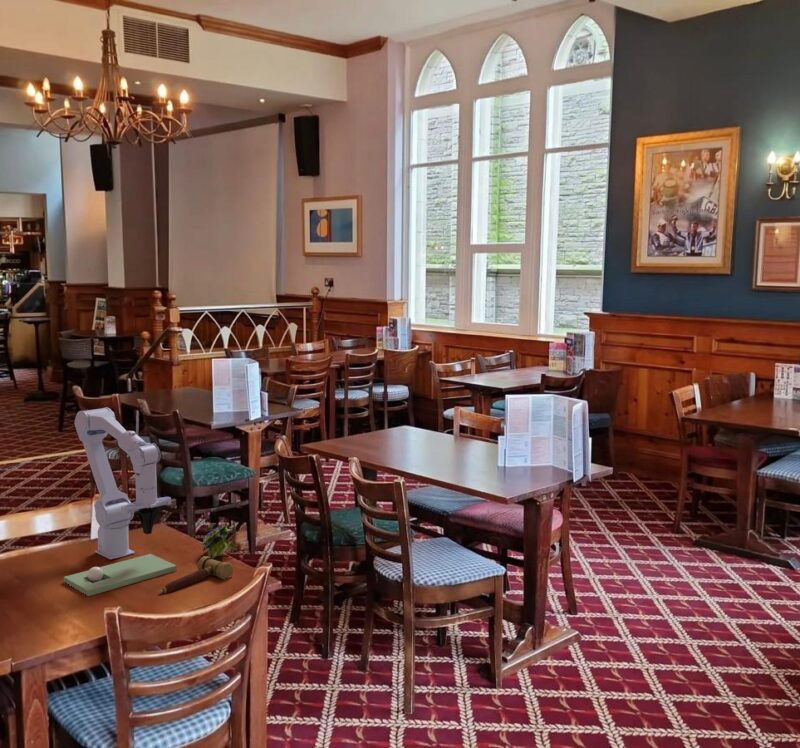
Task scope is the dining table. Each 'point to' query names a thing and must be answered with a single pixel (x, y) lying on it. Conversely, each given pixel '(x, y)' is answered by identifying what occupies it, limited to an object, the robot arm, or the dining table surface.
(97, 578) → the ball
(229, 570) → the gavel
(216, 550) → the passion flower
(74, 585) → the putting mat
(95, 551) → the robot arm
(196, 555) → the dining table surface
